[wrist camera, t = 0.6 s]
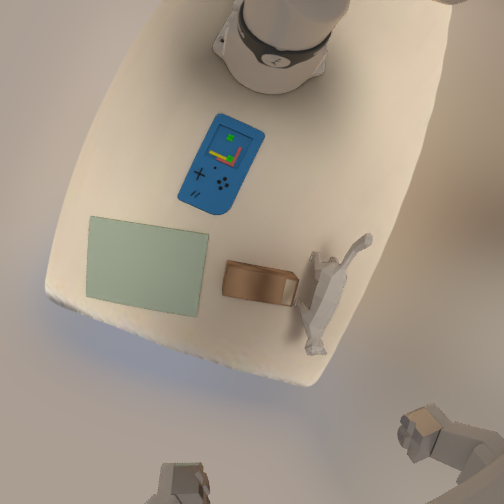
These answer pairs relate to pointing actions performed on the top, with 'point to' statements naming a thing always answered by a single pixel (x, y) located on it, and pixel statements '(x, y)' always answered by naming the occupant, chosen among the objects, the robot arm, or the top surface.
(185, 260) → the rubber mat
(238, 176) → the handheld gaming device
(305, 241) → the top surface
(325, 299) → the cat figurine
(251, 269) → the walnut block
